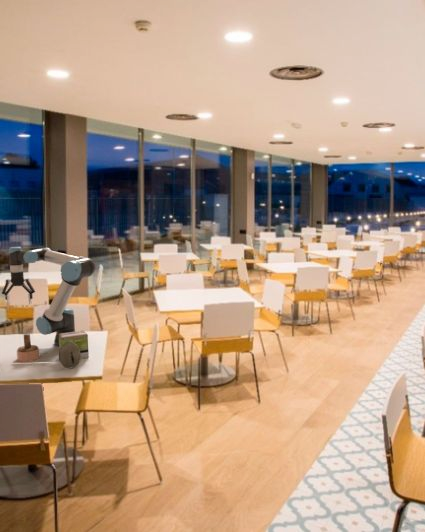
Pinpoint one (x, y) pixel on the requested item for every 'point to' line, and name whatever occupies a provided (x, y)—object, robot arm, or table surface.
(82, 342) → the tea box
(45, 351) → the mat
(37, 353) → the bowl
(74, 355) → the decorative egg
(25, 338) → the lid
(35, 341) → the table surface
